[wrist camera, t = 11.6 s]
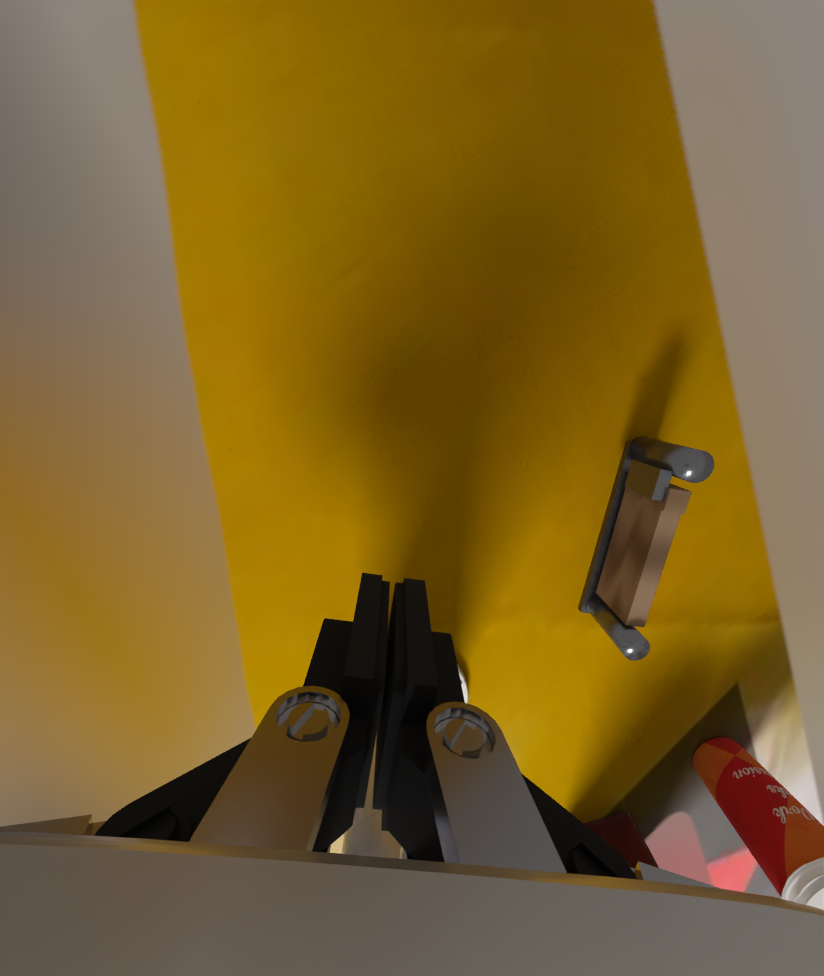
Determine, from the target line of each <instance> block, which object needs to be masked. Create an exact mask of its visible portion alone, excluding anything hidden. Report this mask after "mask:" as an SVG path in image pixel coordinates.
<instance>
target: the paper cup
mask: <svg viewBox="0 0 824 976" xmlns="http://www.w3.org/2000/svg"><path fill="white" fill-rule="evenodd" d="M692 763H693V766H694V768H695V770H696V771H697V773H698V775H699V776H700V778H701V779H702V781H703V782H704V784H705V785H706V787H707V788H708V790H709V791H710V793H711V794H712V796H713V797H714V799H715V800H716V802H717V803H718V805H719V806H720V808H721V809H722V811H723V812H724V814H725V815H726V817H727V818H728V820H729V821H730V823H731V824H732V826H733V827H734V828H735V830H736V831H737V833H738V834H739V836H740V837H741V839H742V840H743V842H744V843H745V845H746V846H747V848H748V849H749V851H750V852H751V853H752V855H753V856H754V858H755V859H756V861H757V862H758V864H759V865H760V867H761V868H762V870H763V871H764V873H765V874H766V876H767V877H768V878H769V880H770V881H771V883H772V884H773V886H774V887H775V889H776V890H777V892H778V893H779V895H780V896H781V899H784V900H788V901H792V902H796V903H800V904H804V905H808V906H812V907H816V908H819V909H822V910H824V826H823V825H822V824H821V823H820V822H819V821H818V820H817V819H816V818H815V817H814V816H813V815H812V814H811V813H810V812H809V811H808V810H807V809H806V808H805V807H804V806H803V805H801V804H800V803H799V802H798V801H797V800H796V799H795V798H794V797H793V796H792V795H791V794H790V793H789V792H788V791H787V790H786V789H785V788H784V787H783V786H782V785H781V784H780V783H779V782H778V781H777V780H776V779H775V778H774V777H773V776H772V775H771V774H770V773H769V772H768V771H767V770H766V769H765V768H764V767H762V766H761V765H760V764H759V763H758V762H757V761H756V760H755V759H754V758H753V757H752V756H751V755H750V754H749V753H748V752H747V751H746V750H745V749H744V748H743V747H742V746H740V745H739V744H738V743H737V742H736V741H734V740H733V739H731V738H728V737H715V738H712V739H709V740H707V741H705V742H703V743H702V744H701V745H700V746H699V747H698V748H697V749H696V750H695V752H694V754H693V758H692Z"/></svg>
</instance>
